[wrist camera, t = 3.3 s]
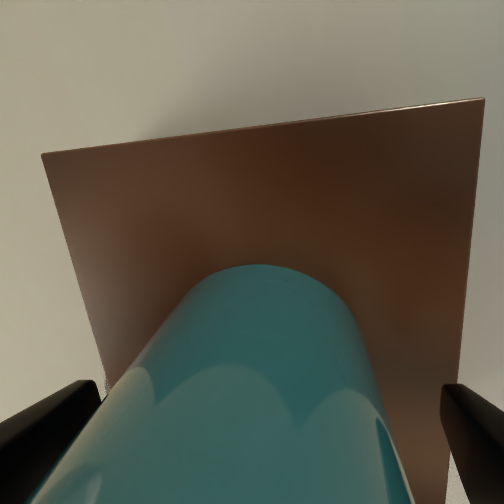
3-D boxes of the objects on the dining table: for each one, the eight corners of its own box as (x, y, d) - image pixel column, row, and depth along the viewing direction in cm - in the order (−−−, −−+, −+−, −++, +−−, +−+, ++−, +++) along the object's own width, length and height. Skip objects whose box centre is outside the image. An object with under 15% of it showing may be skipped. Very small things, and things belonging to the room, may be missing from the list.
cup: (366, 436, 10) (482, 973, 4) (185, 429, 11) (20, 836, 5) (365, 257, 8) (595, 677, 2) (150, 268, 9) (-203, 561, 3)
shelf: (404, 414, 15) (444, 520, 11) (180, 408, 17) (140, 496, 13) (417, 114, 11) (487, 96, 7) (124, 150, 13) (39, 153, 9)
